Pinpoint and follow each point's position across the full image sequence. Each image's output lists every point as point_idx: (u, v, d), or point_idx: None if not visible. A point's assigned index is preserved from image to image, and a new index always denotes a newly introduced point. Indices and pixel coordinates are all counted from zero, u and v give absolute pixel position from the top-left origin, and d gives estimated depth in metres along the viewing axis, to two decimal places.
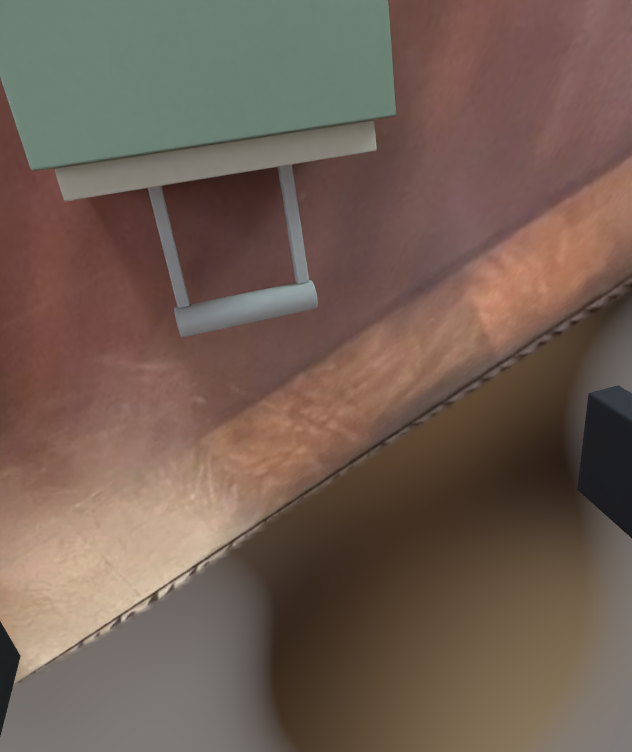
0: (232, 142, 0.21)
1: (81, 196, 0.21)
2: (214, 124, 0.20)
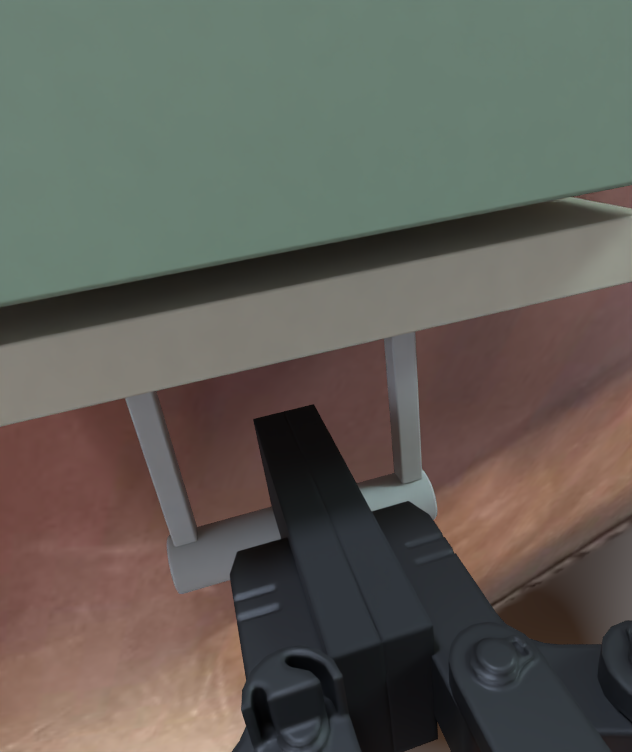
0: (314, 284, 0.08)
1: None
2: (266, 202, 0.07)
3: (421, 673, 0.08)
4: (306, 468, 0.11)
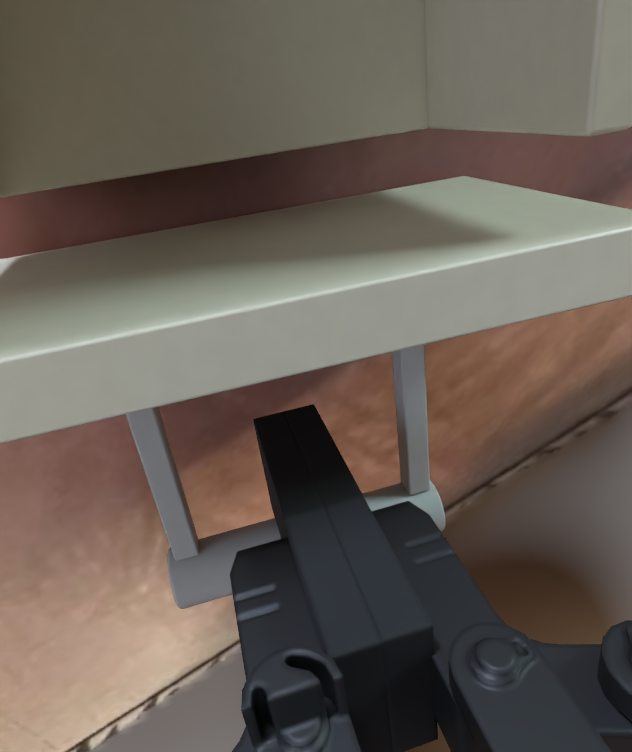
0: (323, 295, 0.08)
1: None
2: None
3: (421, 673, 0.08)
4: (306, 468, 0.11)
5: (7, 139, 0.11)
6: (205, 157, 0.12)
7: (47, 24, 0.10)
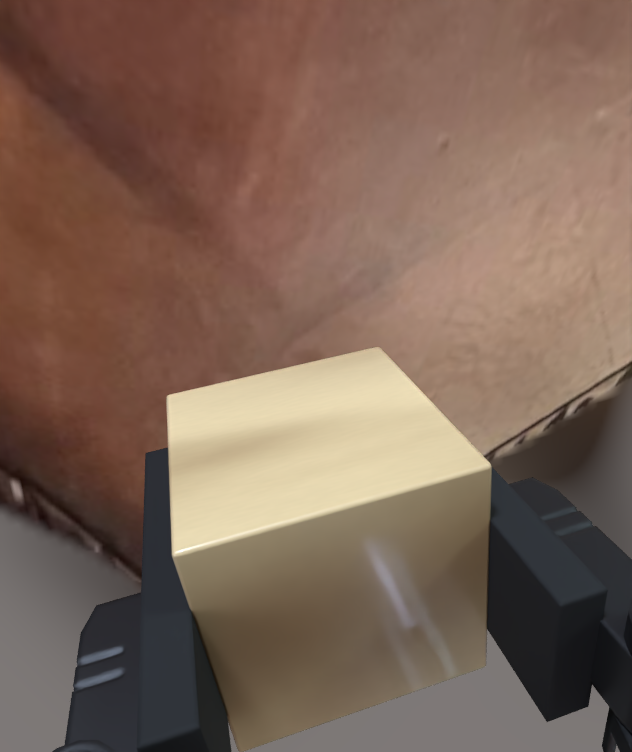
0: None
1: None
2: None
3: (588, 638, 0.08)
4: None
5: None
6: None
7: None
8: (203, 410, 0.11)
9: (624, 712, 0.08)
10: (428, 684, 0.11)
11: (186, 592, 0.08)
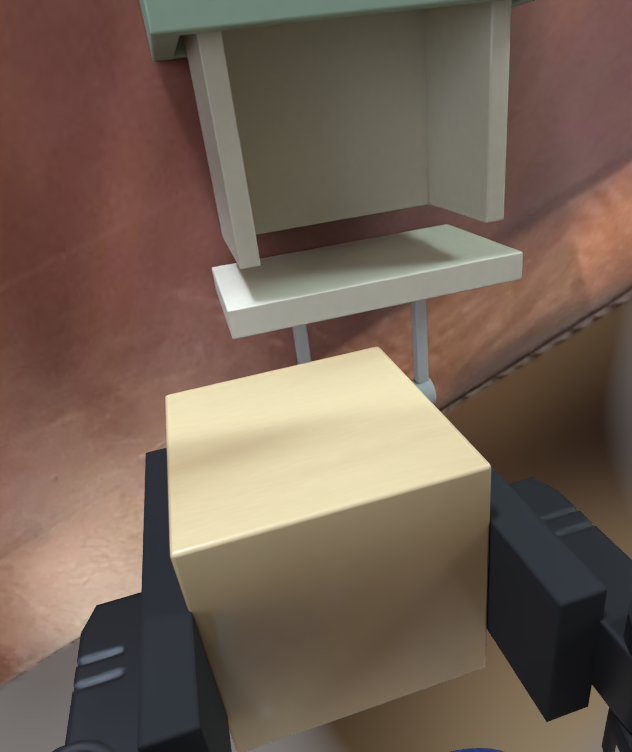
0: (391, 279, 0.22)
1: (249, 334, 0.21)
2: None
3: (587, 638, 0.08)
4: None
5: None
6: (327, 219, 0.26)
7: (270, 167, 0.24)
8: (202, 410, 0.11)
9: (624, 712, 0.08)
10: (428, 686, 0.10)
11: (184, 593, 0.08)
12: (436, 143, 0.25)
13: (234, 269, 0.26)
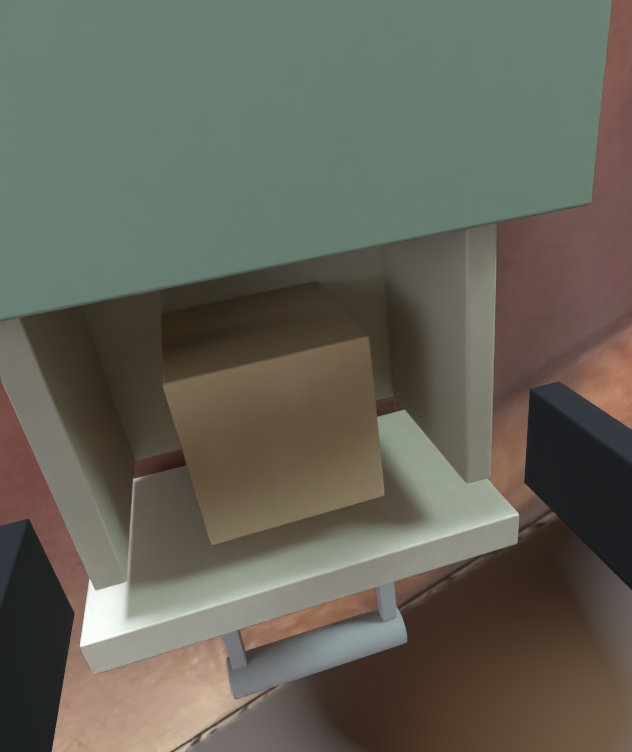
0: (328, 572, 0.15)
1: (117, 666, 0.15)
2: (245, 238, 0.10)
3: None
4: None
5: (140, 433, 0.18)
6: None
7: None
8: (186, 320, 0.16)
9: None
10: (343, 505, 0.15)
11: (172, 412, 0.13)
12: (399, 336, 0.18)
13: None
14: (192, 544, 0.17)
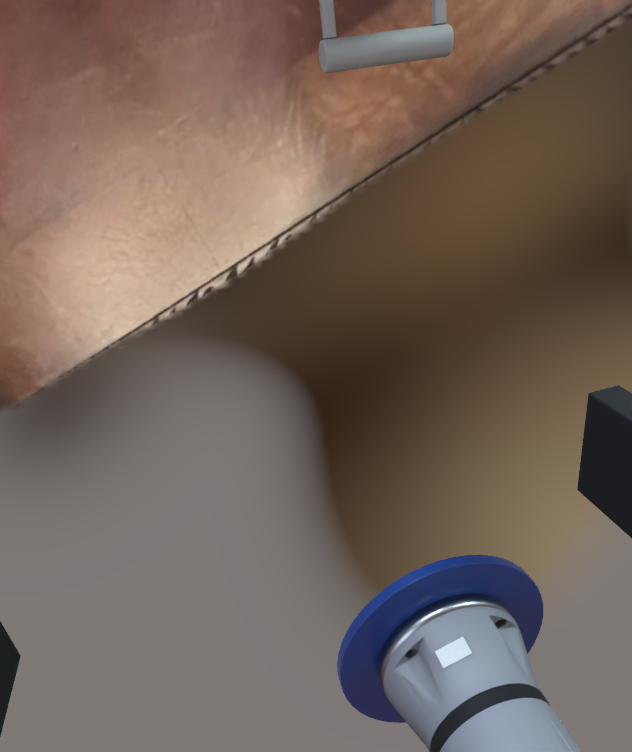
0: None
1: None
2: None
3: None
4: None
5: None
6: None
7: None
8: None
9: None
10: None
11: None
12: None
13: None
14: None
